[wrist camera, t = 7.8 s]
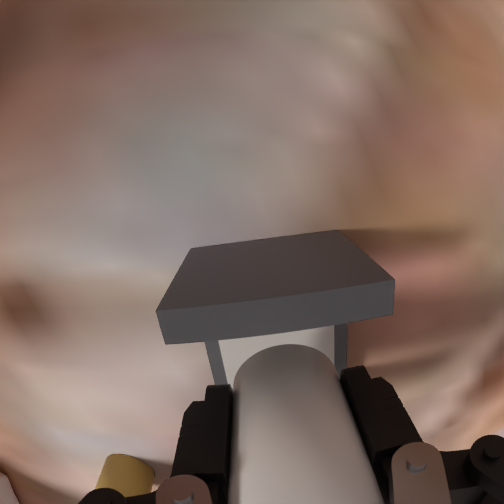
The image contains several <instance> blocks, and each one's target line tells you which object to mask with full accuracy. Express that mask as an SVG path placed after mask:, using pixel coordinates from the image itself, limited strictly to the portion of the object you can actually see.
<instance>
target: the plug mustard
mask: <svg viewBox="0 0 504 504" xmlns="http://www.w3.org/2000/svg"><path fill="white" fill-rule="evenodd" d="M154 477H155V474H154V471H153V470H152V468H151V467H150V466H148V465H147V464H146V463H144V462H143V461H141V460H139V459H137V458H134V457H131V456H128V455H123V454H112V455H109V456H108V457H107V458H106V461H105V464H104V466H103V469H102V472H101V474H100V477H99V480H98V482H97V485H96V488H95V489H98V488H112V489H115V490H117V491H119V492H120V493H121V494H122V495H123V496H124V497H130V496H136V495H142V494H148V493H151V489H152V485H153V481H154Z"/></svg>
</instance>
